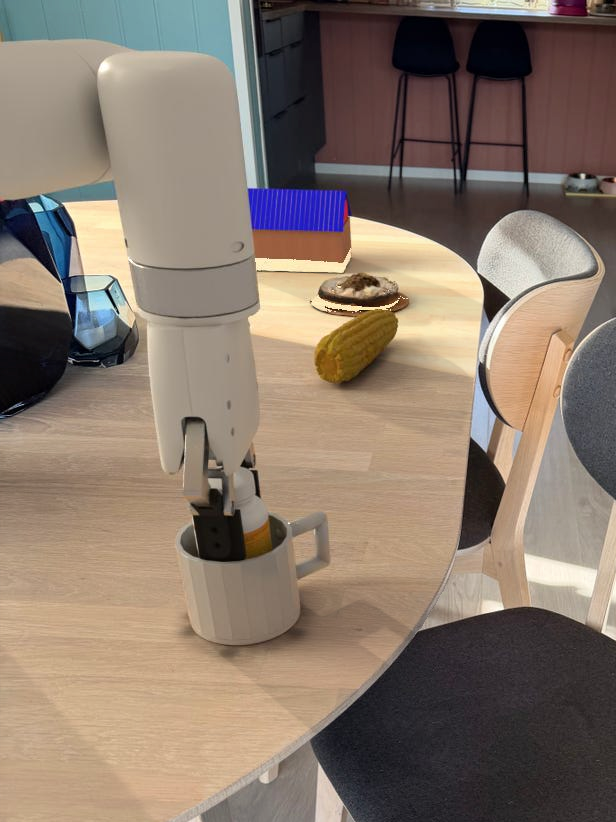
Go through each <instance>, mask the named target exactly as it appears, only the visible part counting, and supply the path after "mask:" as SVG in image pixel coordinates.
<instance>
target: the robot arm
mask: <svg viewBox="0 0 616 822" xmlns="http://www.w3.org/2000/svg"><path fill="white" fill-rule="evenodd" d="M242 131H243V130H242V121H241V115H240V103H239V97H238V90H237V84H236V81H235V78H234V75H233V73H232V71H231V69H229V67H228V66H227V64H226V63H225V62H224V61H222V60H221V59H219V58H218V57H216V56H213V55H212V54H211V55H210V54H206V53H201V52H193V51H181V50H178V51H177V50H136V49H133V48H130V47H127V46H123V45H119V44H116V43H112V42H109V41H105V40H99V39H89V38H70V39H53V40H49V39H31V40H12V41H11V40H10V41H0V201H16V200H22V199H28V198H34V197H37V196H41V195H46V194H51V193H56V192H60V191H65V190H69V189H72V188H78V187H86V186H90V185H96V184H101V183H106V182H110V181H113V184H114V190H115V195H116V200H117V205H118V212H119V216H120V223H121V228H122V233H123V238H124V239H123V240H124V245H125V250H126V256H127V260H128V265H129V271H130V276H131V277H130V278H131V281H132V288H133V293H134V298H135V303H136V311H137V314H138V316H139V317H140V318H142V319H143V320H145V321H147V323H146V344H147V345H146V347H147V362H148V363H147V364H148V365H147V366H148V375H149V384H150V395H151V403H152V409H153V410H152V411H153V416H154V424H155V425H154V426H155V432H156V439H157V446H158V453H159V459H160V465H161V468H162V470H163V471H164V473H166V474H167V475H169V476H173V475H175V474H178V473H179V472H180V470H181V469H182V467H183V478H182V495H183V498H184V499H185V500H187V501H188V502H189V508H190V509H189V510H190V514H191V517H192V516H193V520H192V521H193V522H194V528H195V534H196V539H197V545H198V551H199V557H200V559H203V560H207V561H217V562H231V561H242V560H245V558H246V548H245V541H244V533H243V526H242V519H241V511H240V509H235V499H234V480H233V473H234V472H236V471H237V470H238V469H239V467H243V468H246V469H248V470H250V471H251V472H252V474H253V476H254V482H255V491H256V493H255V495H256V496H257V497H259V498H260V499H261V500H262V496H261V487H260V480H259V478H260V477H259V471H258V469H256V466H257V458H256V456H257V455H256V451H255V447H254V439H255V437H256V434H257V431H258V429H259V425H260V419H261V409H260V407H261V406H260V395H259V384H258V375H257V368H256V360H255V354H254V346H253V340H252V334H251V324H250V321H249V317H252V316H253V317H254V315H256V314H257V313H258V312H259V311H260V310H261V303H260V291H259V281H258V271H256V262H255V253H254V244H253V234H252V225H251V215H250V206H249V197H248V188H249V187H248V178H247V170H246V169H247V168H246V161H245V160H246V159H245V151H244V150H245V149H244V141H243V133H242ZM209 461H215V466H216V467H218V466H222V468H213V467H211V466H209ZM208 478H216V479H221V480H222V494H221V493H220V492H219V491H218V489H217V488H211V485H210V484H209V482H208Z"/></svg>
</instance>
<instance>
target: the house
mask: <svg viewBox="0 0 616 822" xmlns="http://www.w3.org/2000/svg"><path fill="white" fill-rule="evenodd" d="M248 197H249V206H250V215H251V225H252V234H253V244H254V253H255V258H267V259H268V258H269V259H293V260H294V259H296V260H311V261H324V262H326V261H327V262H338V263H343V262H344V260H345V258H346V256H347V254H348V252H349V250H350V248H351V249H352V233H351V232H352V231H351V217H352V216H353V214H352V210H351V208H350V202H349V198H348V194H347V190H330V189H329V190H328V189H327V190H323V189H294V188H293V189H291V188H289V189H288V188H259V187H257V188H255V187H248Z"/></svg>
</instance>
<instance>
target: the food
mask: <svg viewBox="0 0 616 822" xmlns="http://www.w3.org/2000/svg"><path fill="white" fill-rule="evenodd" d="M398 323H399V318H398V317H397V316H396V314H395V312H394V311H388V310H382V309H375V310H371V311H367V312H365V313H362V314H361V315H360V316H354V318H352V319H351V320H348V321H346V322H343V324H342V325H340V326H338V328H335V329H334V330H332V331H331V332H330V333H329V334H326V335H325V336H323V337H322V338H321V339H320V340H319V342H318V343H317V344H316V346H315V350H314V356H313V358H314V359H313V363H314V366H315V370H316V372H317V376H319V379H321V380H323V381H326V382H328V383H332V384H341V383H342V382H345V381H346V382H348V381H350V380H351V379H352V378H355V377H357V376H358V375H359V373H360V372H361V371H363V370H364V369H365V368H366V367H367V366H369V365H370V364H371V363H372V362H374V361H375V360H376V358H377V357H378V356H379V355H380V354H381V353H382V352H383V351H385V348H386V347H388V345H390V344H391V342H392V341H393V340H394V339H395V337H396V334H397V332H398V328H399V324H398Z"/></svg>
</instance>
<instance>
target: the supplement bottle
mask: <svg viewBox="0 0 616 822" xmlns="http://www.w3.org/2000/svg"><path fill="white" fill-rule="evenodd" d="M212 468H222V466H218V467H217V466H213V467H212ZM250 470H251V469H249V470H248V469H246V468H243V467H239V469H238V470H237V471H236V472H234V473H233V480H234V499H235V509H240V511H241V519H242V526H243V533H244V541H245V548H246V558H245V560H247V559H251V558H256V557H259V556H261V555H264V554H266V553H269V552H271V551H272V543H271V535H270V526H269V517H268V512H269V511H268V507H267V505H266V503H265V502H264V500H263V499H262V498H261V499H260V498H259V497H257V496H256V495H255V493H256V491H255V482H254V476H253V474H252V472H251V471H250ZM208 482H209V484H210V485H211V488H217V489H218V491H219V492H220V493H221V494H222V480H221V479H216V478H208ZM191 519H192V520H191V521H193V516H192V515H191ZM193 527H194V522H193ZM194 533H195V528H194ZM195 538H196V534H195ZM196 544H197V539H196ZM197 551H198V545H197ZM198 556H199V551H198ZM199 558H200V557H199Z"/></svg>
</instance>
